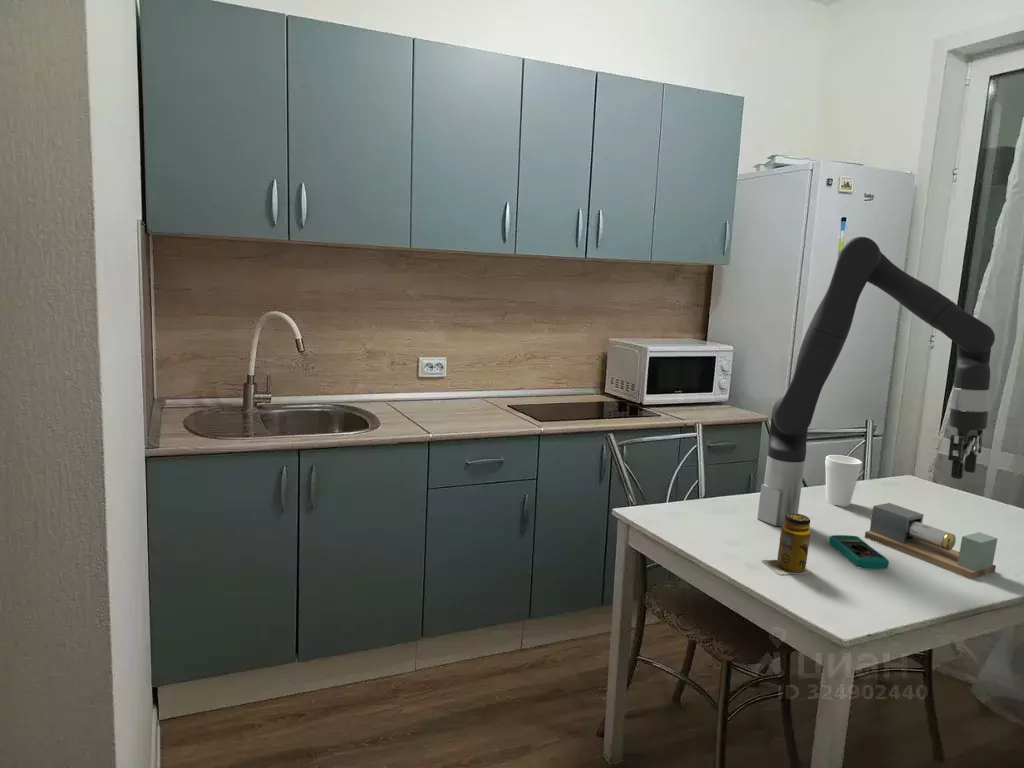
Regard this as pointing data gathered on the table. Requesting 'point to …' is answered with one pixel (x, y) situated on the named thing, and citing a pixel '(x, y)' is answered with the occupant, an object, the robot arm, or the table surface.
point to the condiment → (792, 546)
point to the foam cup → (841, 478)
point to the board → (931, 555)
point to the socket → (977, 551)
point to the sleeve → (893, 522)
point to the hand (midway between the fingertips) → (963, 475)
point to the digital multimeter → (858, 552)
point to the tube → (931, 535)
